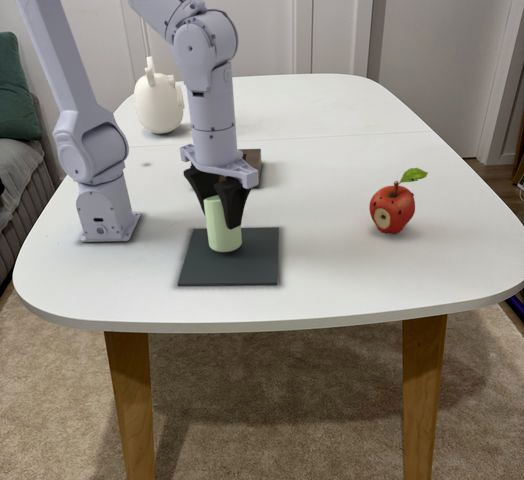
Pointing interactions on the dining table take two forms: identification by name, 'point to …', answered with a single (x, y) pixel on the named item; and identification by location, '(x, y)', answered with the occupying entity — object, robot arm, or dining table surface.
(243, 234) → the mat
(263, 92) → the dining table surface
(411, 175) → the apple
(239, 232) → the candle
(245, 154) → the holder
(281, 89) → the dining table surface
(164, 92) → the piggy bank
